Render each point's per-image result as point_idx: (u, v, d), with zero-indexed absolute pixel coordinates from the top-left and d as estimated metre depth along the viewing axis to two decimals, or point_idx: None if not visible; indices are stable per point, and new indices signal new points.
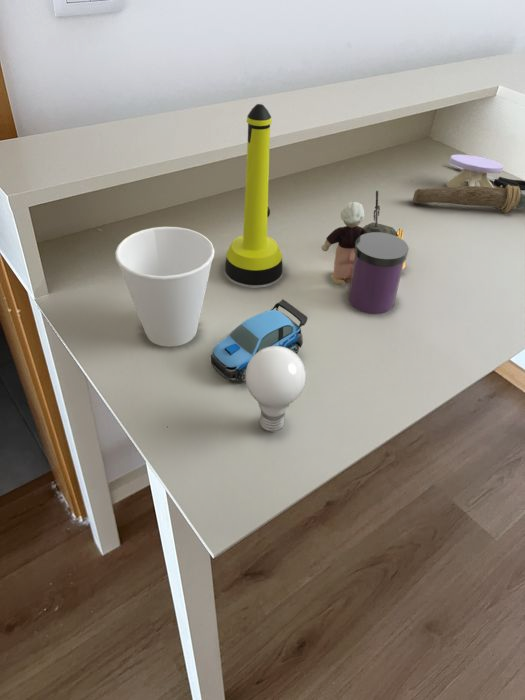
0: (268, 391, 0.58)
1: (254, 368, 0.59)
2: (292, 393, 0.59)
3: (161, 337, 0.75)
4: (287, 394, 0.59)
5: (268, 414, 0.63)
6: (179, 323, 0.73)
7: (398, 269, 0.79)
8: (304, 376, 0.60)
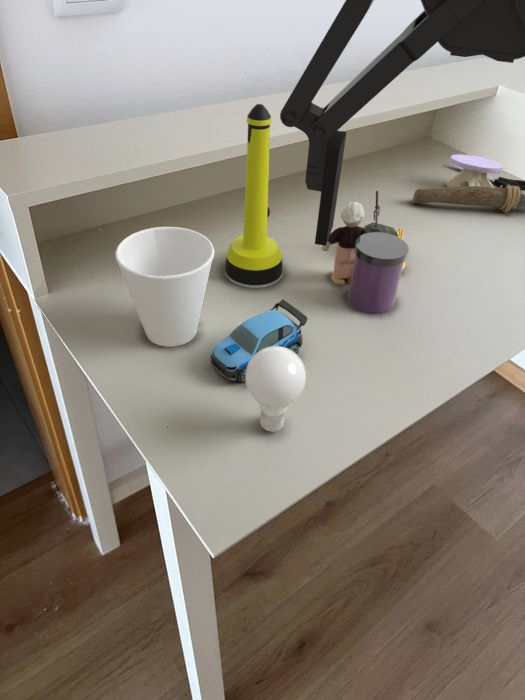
0: (268, 391, 0.58)
1: (254, 368, 0.59)
2: (292, 393, 0.59)
3: (161, 337, 0.75)
4: (287, 394, 0.59)
5: (268, 414, 0.63)
6: (179, 323, 0.73)
7: (398, 269, 0.79)
8: (304, 376, 0.60)
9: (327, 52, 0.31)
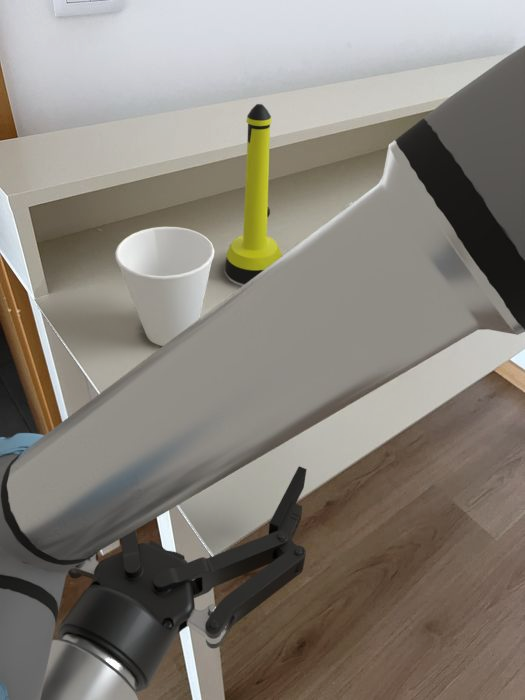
0: None
1: None
2: None
3: (161, 337, 0.75)
4: None
5: None
6: (179, 323, 0.73)
7: None
8: None
9: (259, 582, 0.44)
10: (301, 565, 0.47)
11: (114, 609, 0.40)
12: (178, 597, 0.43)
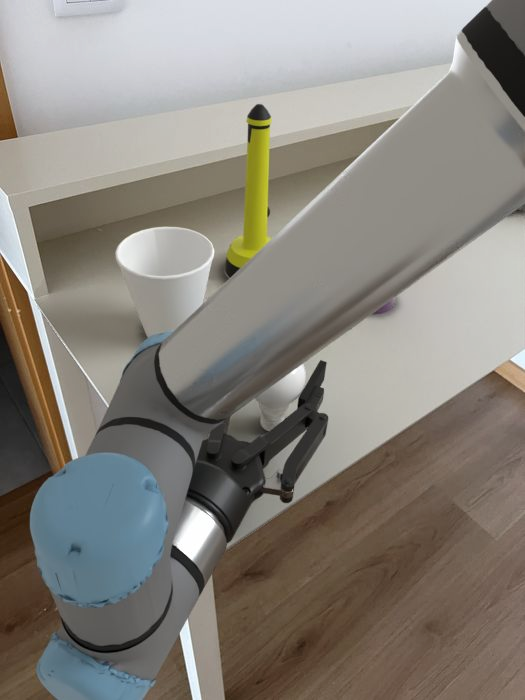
0: (268, 391, 0.58)
1: None
2: (292, 393, 0.59)
3: None
4: (287, 394, 0.59)
5: (268, 414, 0.63)
6: (179, 323, 0.73)
7: None
8: (304, 376, 0.60)
9: (305, 444, 0.55)
10: (326, 427, 0.58)
11: (206, 474, 0.49)
12: (252, 473, 0.52)
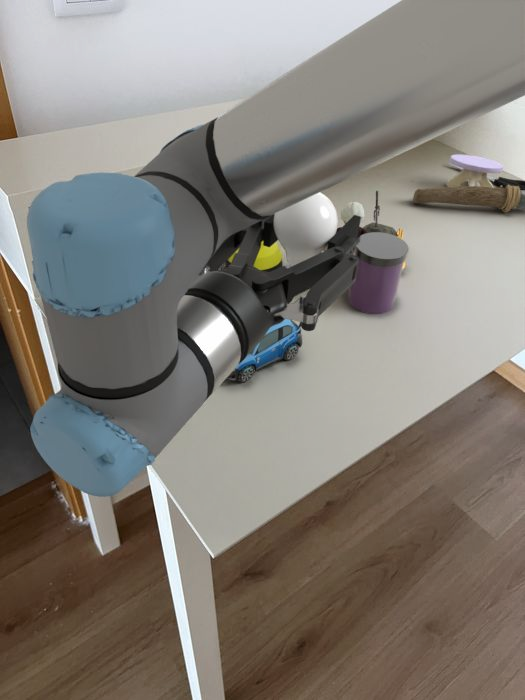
0: (296, 229, 0.55)
1: None
2: (321, 235, 0.56)
3: None
4: (316, 235, 0.55)
5: None
6: None
7: (398, 269, 0.79)
8: (336, 220, 0.57)
9: (332, 277, 0.52)
10: (356, 271, 0.55)
11: (223, 280, 0.46)
12: (273, 295, 0.49)
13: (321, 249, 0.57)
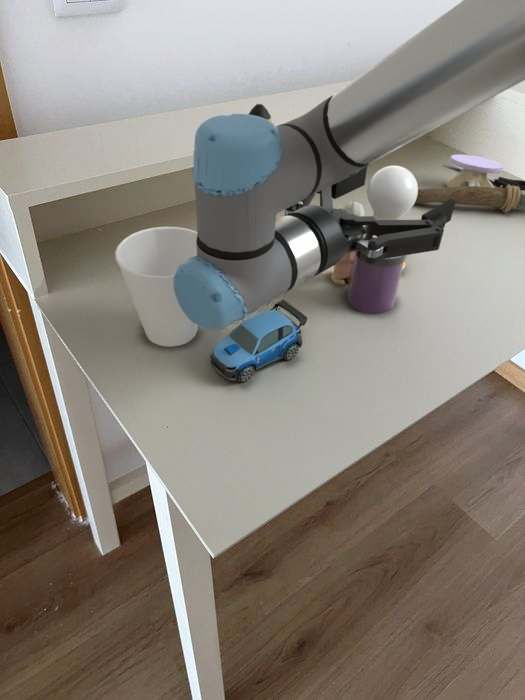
0: (382, 194, 0.72)
1: (376, 176, 0.73)
2: (401, 201, 0.72)
3: (161, 337, 0.75)
4: (397, 200, 0.72)
5: None
6: (179, 323, 0.73)
7: (398, 269, 0.79)
8: (415, 192, 0.73)
9: (408, 234, 0.66)
10: (438, 240, 0.67)
11: (317, 210, 0.64)
12: (353, 229, 0.66)
13: (401, 213, 0.74)
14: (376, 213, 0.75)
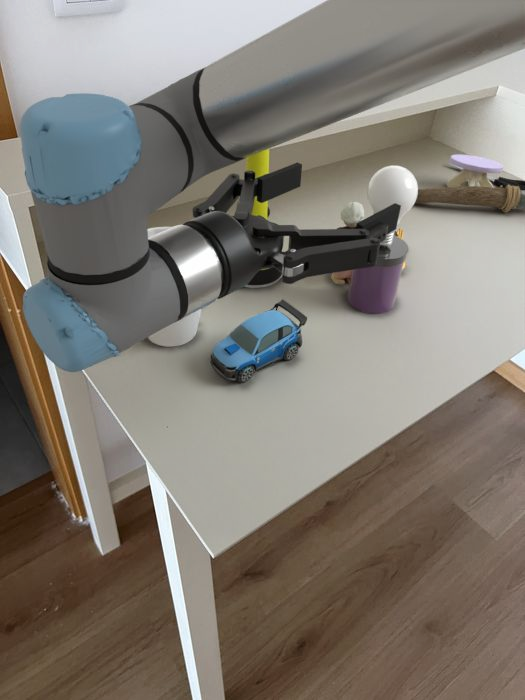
0: (382, 194, 0.72)
1: (376, 176, 0.73)
2: (401, 201, 0.72)
3: (161, 337, 0.75)
4: (397, 200, 0.72)
5: None
6: (179, 323, 0.73)
7: (398, 269, 0.79)
8: (415, 192, 0.73)
9: (335, 247, 0.53)
10: (374, 255, 0.55)
11: (220, 218, 0.52)
12: (269, 241, 0.54)
13: (401, 213, 0.74)
14: None
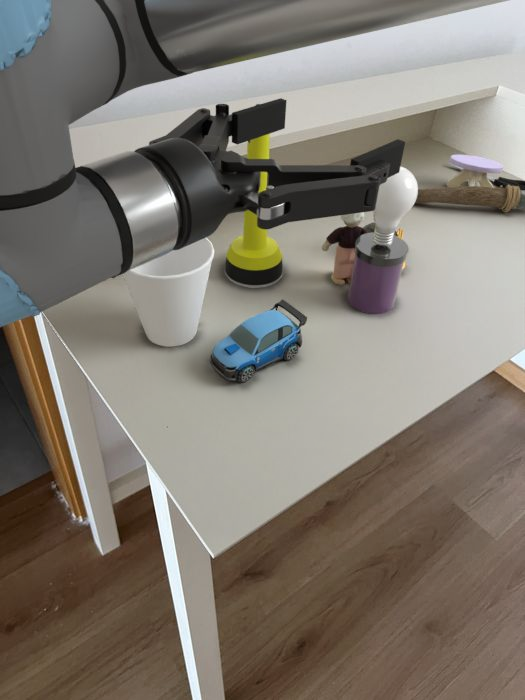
0: (382, 194, 0.72)
1: None
2: (401, 201, 0.72)
3: (161, 337, 0.75)
4: (397, 200, 0.72)
5: (380, 225, 0.77)
6: (179, 323, 0.73)
7: (398, 269, 0.79)
8: (415, 192, 0.73)
9: (324, 184, 0.43)
10: (373, 196, 0.44)
11: (177, 144, 0.41)
12: (241, 177, 0.43)
13: (401, 213, 0.74)
14: (376, 213, 0.75)
